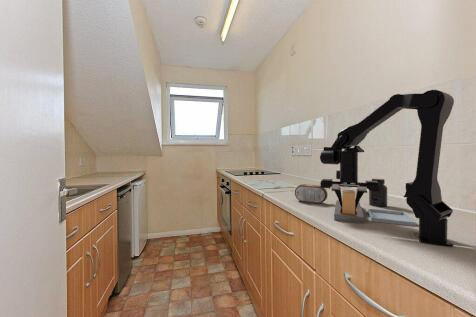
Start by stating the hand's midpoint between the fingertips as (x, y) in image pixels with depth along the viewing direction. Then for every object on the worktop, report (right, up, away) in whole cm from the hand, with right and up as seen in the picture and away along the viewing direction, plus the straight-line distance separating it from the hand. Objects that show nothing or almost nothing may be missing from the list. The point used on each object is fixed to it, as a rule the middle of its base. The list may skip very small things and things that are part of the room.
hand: (348, 208), depth 79 cm
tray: (+14, -4, -1) cm, 14 cm away
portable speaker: (-5, -3, +26) cm, 27 cm away
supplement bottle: (+22, -3, +17) cm, 28 cm away
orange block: (0, -2, 0) cm, 2 cm away
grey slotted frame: (+3, -4, +6) cm, 7 cm away
